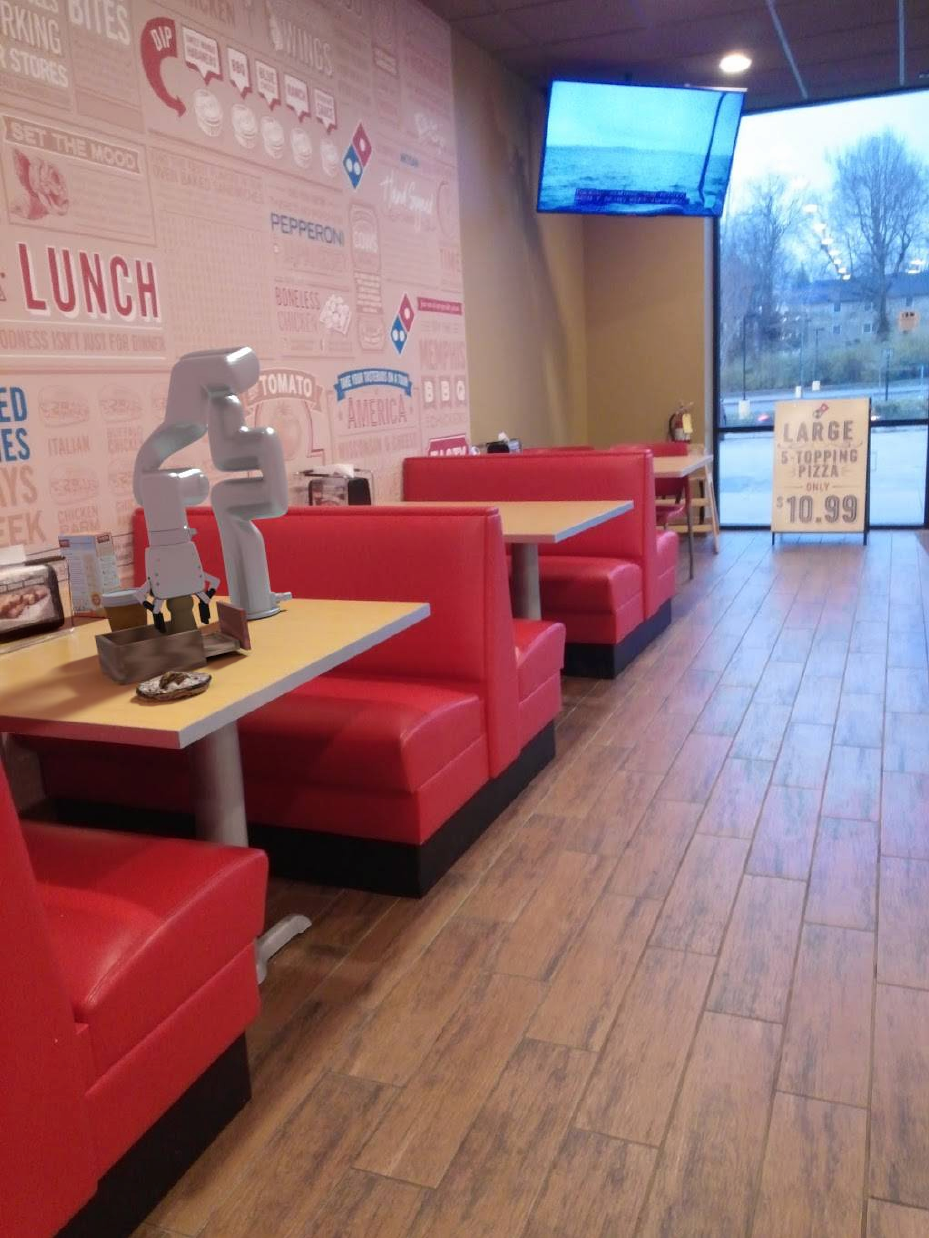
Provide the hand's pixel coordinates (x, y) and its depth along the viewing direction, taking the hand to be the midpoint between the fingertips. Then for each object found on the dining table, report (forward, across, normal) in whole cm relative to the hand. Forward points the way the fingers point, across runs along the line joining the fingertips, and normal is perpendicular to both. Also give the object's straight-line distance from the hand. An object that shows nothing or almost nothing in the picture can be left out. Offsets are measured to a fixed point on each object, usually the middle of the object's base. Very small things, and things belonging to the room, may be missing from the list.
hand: (183, 627), depth 189 cm
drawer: (+6, -2, 0) cm, 6 cm away
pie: (+7, +9, +20) cm, 23 cm away
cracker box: (+7, +1, -69) cm, 69 cm away
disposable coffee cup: (+7, +5, -22) cm, 24 cm away
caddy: (+7, +7, 0) cm, 10 cm away
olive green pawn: (+5, 0, 0) cm, 5 cm away
